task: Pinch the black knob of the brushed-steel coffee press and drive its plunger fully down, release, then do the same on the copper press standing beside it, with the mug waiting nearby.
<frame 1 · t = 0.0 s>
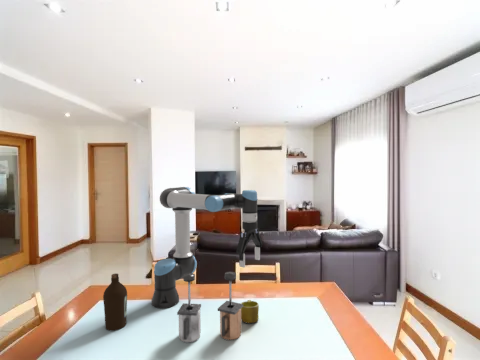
hand: (250, 263, 145), 28 cm above the table, fingers open, 13 cm apart
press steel: (189, 336, 130), on the table
olive oil: (116, 325, 140), on the table
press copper: (230, 334, 132), on the table
mug: (249, 318, 146), on the table
plunger steel: (189, 295, 129), point 19 cm above the table, slide at 0.0 cm
plunger copper: (230, 293, 131), point 19 cm above the table, slide at 0.0 cm
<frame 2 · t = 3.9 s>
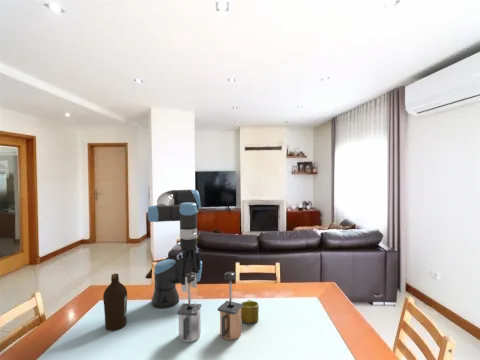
hand: (189, 289, 129), 22 cm above the table, fingers closed on plunger steel, 5 cm apart
plunger steel: (189, 295, 129), point 19 cm above the table, slide at 0.0 cm, touching gripper
everything else where it was.
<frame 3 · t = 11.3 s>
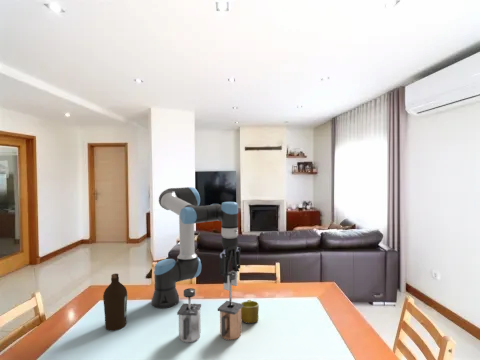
hand: (230, 287, 131), 22 cm above the table, fingers closed on plunger copper, 5 cm apart
plunger steel: (189, 310, 130), point 12 cm above the table, slide at 7.0 cm
plunger copper: (230, 293, 131), point 19 cm above the table, slide at 0.0 cm, touching gripper
everything else where it was.
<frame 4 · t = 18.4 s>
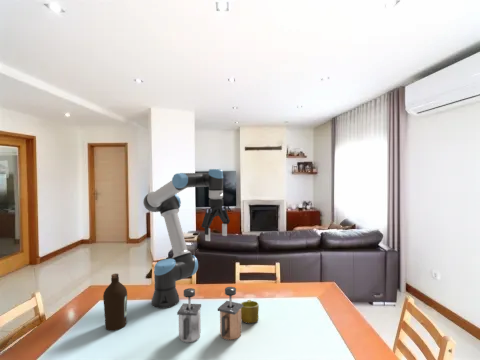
hand: (216, 238, 153), 39 cm above the table, fingers open, 13 cm apart
plunger copper: (230, 308, 131), point 12 cm above the table, slide at 7.0 cm
everything else where it was.
at the end: plunger steel slide at 7.0 cm; plunger copper slide at 7.0 cm; the gripper is holding nothing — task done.
